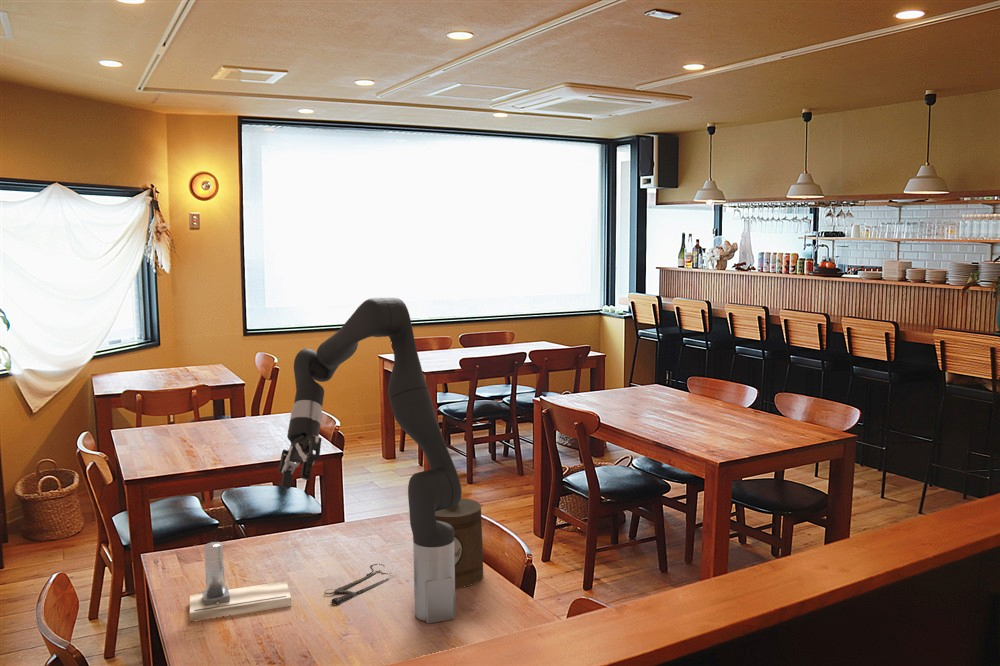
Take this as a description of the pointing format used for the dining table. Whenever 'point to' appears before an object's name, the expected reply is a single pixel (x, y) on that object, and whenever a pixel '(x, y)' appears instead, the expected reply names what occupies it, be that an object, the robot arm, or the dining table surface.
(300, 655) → the dining table surface
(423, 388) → the robot arm
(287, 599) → the birch board
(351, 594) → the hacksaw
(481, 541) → the wooden container
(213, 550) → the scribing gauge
